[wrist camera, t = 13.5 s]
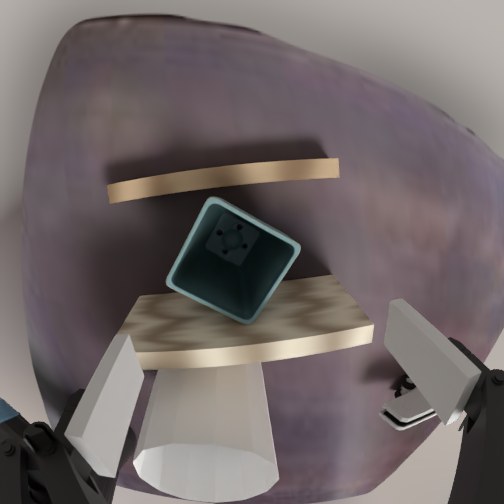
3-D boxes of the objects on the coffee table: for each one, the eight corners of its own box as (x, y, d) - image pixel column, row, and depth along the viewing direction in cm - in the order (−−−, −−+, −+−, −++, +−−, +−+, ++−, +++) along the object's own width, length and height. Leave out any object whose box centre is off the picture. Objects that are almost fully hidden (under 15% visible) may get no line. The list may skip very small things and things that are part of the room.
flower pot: (179, 253, 33) (162, 285, 24) (215, 185, 31) (209, 193, 22) (245, 287, 34) (251, 327, 26) (284, 224, 32) (303, 246, 24)
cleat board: (143, 309, 34) (113, 369, 23) (117, 182, 30) (62, 196, 18) (332, 289, 35) (371, 342, 24) (328, 158, 30) (380, 158, 19)
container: (281, 375, 39) (304, 479, 22) (207, 414, 41) (203, 509, 24) (216, 310, 35) (208, 424, 18) (141, 360, 37) (106, 461, 20)
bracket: (429, 364, 44) (372, 386, 40) (462, 392, 35) (407, 425, 31) (422, 380, 45) (365, 403, 41) (452, 408, 36) (397, 441, 32)
